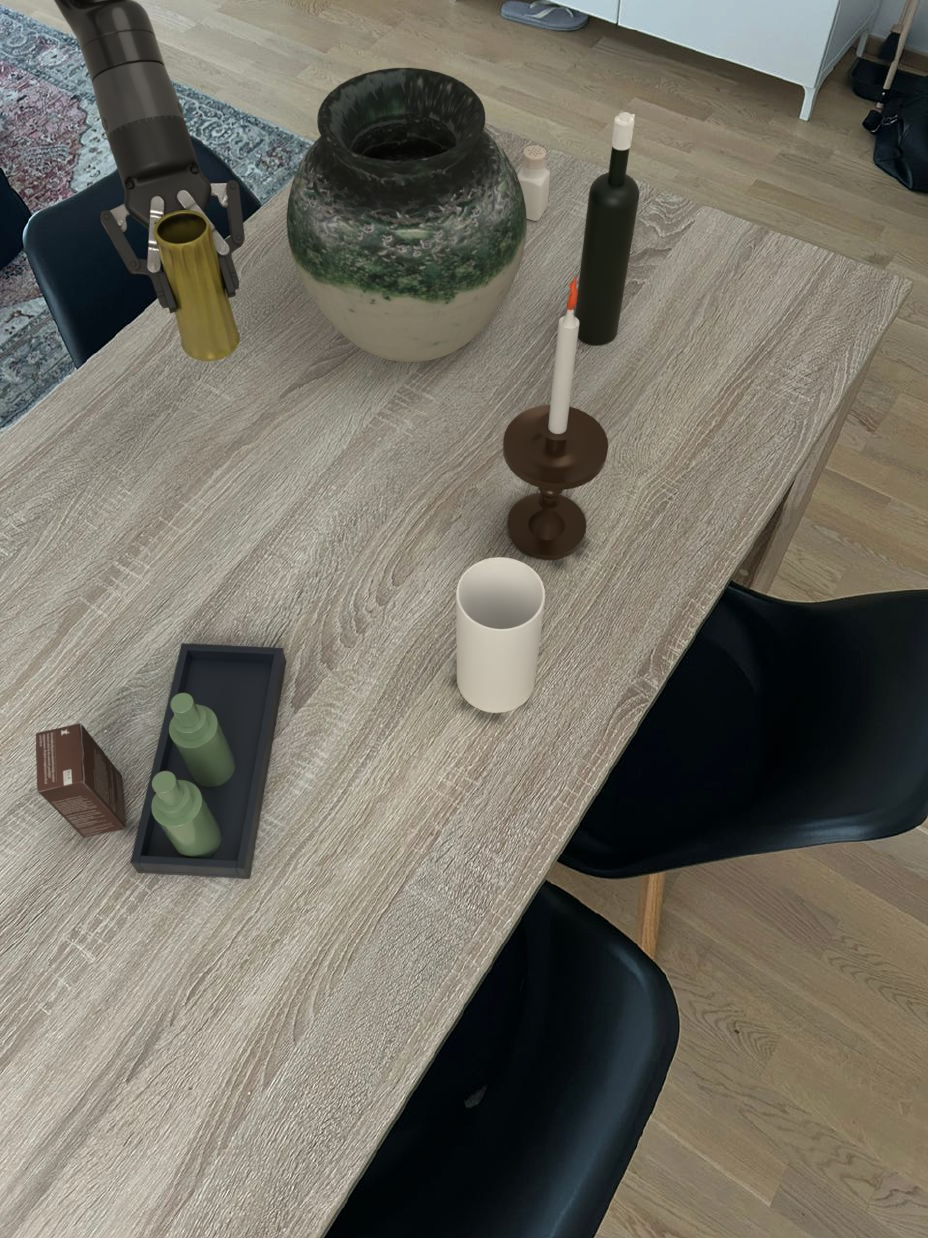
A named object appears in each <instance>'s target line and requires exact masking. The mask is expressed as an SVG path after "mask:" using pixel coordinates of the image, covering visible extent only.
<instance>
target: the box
mask: <svg viewBox="0 0 928 1238" xmlns="http://www.w3.org/2000/svg"><path fill="white" fill-rule="evenodd" d="M35 759H36V760H35V761H36V791H37V793H38V794H39V795H40V796H41V797H42V798H43V799H44V800H45V801H46V802H48V803H49V804H50V806H51V807H52V808H54V810H56V812H57V813H58V814H59V815H60V816H61V817H62V818H63V819H64V820H65V821H66V822H67V823H68V825H70V826H71V827H72V828H73V829H74V830H75V832H77V833H78V834H79V835H80V836H81V837H82V838H84V839H85V838H88V837H93V836H99V835H103V834H107V833H111V832H116V831H120V830H124V829H126V813H125V812H126V811H125V797H124V785H123V775H122V774H121V772H120V771H119V770H118V768H117V767H116V766H115V764H114V763H113V762H112V761H111V760H110V758H109V757H108V756H107V754H106V753H105V751H104V750H103V749H102V748H101V747H100V745H99V744H98V743H97V742H96V740H95V739H94V738H93V736H92V735H91V733H90V732H89V731H88V730H87V728H86V727H85V726H84V725H83V723H81V722H78V723H75V724H70V725H67V726H62V727H61V726H60V727H57V728H52V729H48V730H43V731H39V732H36V733H35Z"/></svg>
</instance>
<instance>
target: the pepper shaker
mask: <svg viewBox="0 0 928 1238" xmlns="http://www.w3.org/2000/svg"><path fill="white" fill-rule="evenodd" d="M546 162H547V150H546V149H545V148H544V147H543V146H541V145H535V144H532V145H527V146H526V147H525V148H524V149H523V152H522V163H521V166H522V167H521V168H520V169H519V171H518V172H517V177H518V179H519V182H520V185H521V188H522V191H523V196H524V201H525V205H526V216H527V220H530V221H533V222H538V221H540V219H541V218H542V217H543V215H544V213H545V212H546V210H547V208H548V207H549V194H550V183H551V182H550V181H551V171H550V170H549V169H548V168H546V166H547V165H546V164H547V163H546Z"/></svg>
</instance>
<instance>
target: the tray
mask: <svg viewBox="0 0 928 1238" xmlns="http://www.w3.org/2000/svg"><path fill="white" fill-rule="evenodd" d="M286 659H287V658H286V655H285V651H284V648H283V647H274V646H273V647H271V646H254V645H253V646H251V645H250V646H249V645H233V644H231V645H230V644H229V645H228V644H212V643H209V644H208V643H191V642H190V643H188V642H187V643H185V642H182V643H181V644H180V649H179V652H178V656H177V660H176V661H177V662H176V665H175V669H174V674H173V678H172V682H171V686H170V691H169V695H168V699H167V703H166V708H165V713H164V717H163V720H162V725H161V730H160V734H159V737H158V738H159V739H158V741H157V747H156V751H155V755H154V758H153V764H152V768H151V772H150V777H149V780H148V783H147V789H146V793H145V798H144V801H143V805H142V806H143V807H142V810H141V815H140V818H139V824H138V828H137V833H136V835H135V841H134V845H133V849H132V853H131V858H130V861H129V862H130V865H131V866H132V867H133V869H135V871H136V873H138V874H151V875H152V874H154V875H172V876H189V877H205V878H206V877H208V878H227V879H242V880H243V879H245V880H249V879H251V873H252V868H253V860H254V856H255V849H256V843H257V838H258V832H259V827H260V819H261V814H262V808H263V802H264V797H265V791H266V785H267V778H268V774H269V773H268V772H269V766H270V761H271V755H272V749H273V745H274V744H273V742H274V737H275V733H276V732H275V731H276V725H277V721H278V720H277V719H278V713H279V709H280V703H281V697H282V696H281V695H282V689H283V686H284V685H283V684H284V678H285V673H286V667H287V660H286ZM179 693H187V694H189V695H191V696H192V698H193V700H194V702H195V704H197V705H202V706H205V707H208V708H209V709H211V710H212V711H213V712H214V714H215V715H216V717H217V719H218V722H219V724H220V726H221V729H222V731H223V733H224V735H225V738H226V740H227V742H228V744H229V747H230V749H231V751H232V754H233V756H234V758H235V770H234V773H233V775H232V776H231V777H230V779H229V780H228V781H226V782H225V783H224V784H222V785H219V786H216V787H204V786H201V785H199V784H198V783H197V782H196V781H195V780H194V779H193V777H192V776H191V774H190V772H189V770H188V768H187V766H186V764H185V763H184V761H183V759H182V757H181V755H180V753H179V752H178V750H177V748H176V746H175V744H174V742H173V740H172V739H171V737H170V734H169V725H170V722H171V720H172V718H173V716H174V712H173V710H172V708H171V705H170V704H171V700H172V698H173V697H174V696H175V695H177V694H179ZM162 771H169V772H171V773H173V774H174V775H175V777H176V779H177V780H185V781H189V782H191V783H193V784H194V785H196V786H197V787H198V789H199V790H200V792H201V794H202V796H203V798H204V799H205V801H206V803H207V805H208V807H209V809H210V811H211V812H212V814H213V816H214V818H215V820H216V822H217V824H218V825H219V827H220V829H221V833H222V839H221V844H220V846H219V848H218V850H217V851H216V852H215V853H214V854H213V855H212V856H211V857H209V858H207V859H197V858H182V857H181V856H180V855H179V854H178V852H177V851H176V849H175V848H174V846H173V845H172V843H171V842H170V840H169V839H168V837H167V836H166V834H165V833H164V831H163V830H162V828H161V827H160V825H159V824H158V822H157V821H156V819H155V818H154V816H153V814H152V809H151V805H152V800H153V798H154V795H155V794H156V792H155V791H154V789H153V787H152V780H153V778H154V777H155V775H157V774H158V773H160V772H162Z"/></svg>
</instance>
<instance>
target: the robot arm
mask: <svg viewBox="0 0 928 1238" xmlns="http://www.w3.org/2000/svg"><path fill="white" fill-rule="evenodd" d="M53 1H54V3H55V5H56V6H57V8H58V10H59V12H60V14H61V16H62V17H63V18H64V21H65V22H66V24H68V26H69V27H70V29H71V31H72V33H73V34H74V36H75V38H76V40H77V42H78V45H79V48H80V51H81V55H82V57H83V61H84V64H85V66H86V69H87V73H88V75H89V78H90V82H91V85H92V89H93V93H94V98H95V103H96V108H97V111H98V114H99V117H100V118H99V119H100V120H101V126H102V129H103V130H104V133H105V135H106V138H107V141H108V144H109V148H110V150H111V153H112V156H113V159H114V163H115V165H116V169H117V171H118V175H119V177H120V181H121V184H122V186H123V189H124V199H123V204H121V205H119V206H116V207H115V208H112V209H111V210H108V209H103V210H102V211H101V212H100V213H99V218H100V222H101V225H102V226H103V228H104V230H105V231H106V233H107V235H108V237H109V239H110V241H112V244H113V246H114V247H115V249H116V251H117V252H118V255H119V256H120V258H121V260H122V262H123V263H124V265H125V267H126V269H127V270H128V272H129V273H130V274H132V275H146V276H148V277H149V278H150V280H151V282H152V285H153V288H154V292H155V294H156V298H157V300H158V304H159V305H160V306H161V308H162V309H168V311H169V313H170V314H173V313H174V314H175V312H177V307H176V304H175V301H174V298H173V295H172V292H171V289H170V286H169V283H168V280H167V277H166V274H165V272H164V270H163V269H162V268H163V267H162V266H161V264H162V261H161V257H160V254H159V250H158V247H157V243H156V240H155V236H154V227H155V224H156V223H157V221H158V220H159V219H160V218H162V217H163V216H165V215H167V214H169V213H171V212H175V211H180V210H192V211H196V212H199V213H201V214H203V215H204V216H205V217H206V218H207V220H208V222H209V224H210V227H211V230H212V234H213V238H214V242H215V247H216V252H217V256H218V260H219V265H220V270H221V274H222V278H223V282H224V286H225V289H226V293H227V296H228V299H231V298H234V297H236V296H237V293H236V291H237V290H239V288H240V279H239V276H238V273H237V270H236V269H237V268H236V266H235V264H234V260H233V255H232V254H233V253H234V252H235V251H237V250H238V249H239V248H242V246H244V242H245V239H246V235H245V226H244V218H243V210H242V209H243V208H242V199H241V191H240V184H239V182H238V181H237V180H235V179H229V180H228V181H227V182H223V183H222V182H221V183H216V182H215V183H214V182H213V183H210V181H209V180H208V179H207V178H206V177H205V175H204V173H203V172H202V170H201V167H200V163H199V161H198V158H197V155H196V151H195V148H194V145H193V142H192V139H191V136H190V133H189V129H188V126H187V123H186V119H185V116H184V110H183V107H182V104H181V103H180V101H179V97H178V94H177V92H176V89H175V87H174V84H173V82H172V79H171V78H170V76H169V73H168V70H167V68H166V66H165V61H164V59H163V56H162V51H161V49H160V46H159V42H158V40H157V37H156V33H155V30H154V28H153V24H152V21H151V19H150V16H149V14H148V12H147V11H146V9H145V8H144V7H143V6H142V5H141V3H139V2H137V1H136V0H53ZM212 196H214V197H215V198H216V199H217V201H218V204H219V206H221V207H223V208H226V210H227V217H228V218H227V219H228V228H229V236H228V237H227V238H226V239H225V238H223V237H222V236H221V234H220V233H219V232H218V230H217V229H216V227H215V225H214V224H213V222H211V220H210V218H208V216H207V215H206V213H207V209H208V207H209V203H210V200H211V197H212ZM128 216H129V217H131V218H132V219H133V220H135V221H136V222H137V223H139V224H140V225H141V226H142V227H143V228H145V229H146V230H147V231H148V245H147V246H148V247H147V248H148V249H147V259H146V258H145V259H144V258H138V256H137V255H136V253H135V252H134V249H133V248H132V246H131V244H130V242H129V241H128V239H127V237H126V235H125V232H126V231H127V228H128V225H127V224H128V223H127V221H126V220H127V217H128Z"/></svg>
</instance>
